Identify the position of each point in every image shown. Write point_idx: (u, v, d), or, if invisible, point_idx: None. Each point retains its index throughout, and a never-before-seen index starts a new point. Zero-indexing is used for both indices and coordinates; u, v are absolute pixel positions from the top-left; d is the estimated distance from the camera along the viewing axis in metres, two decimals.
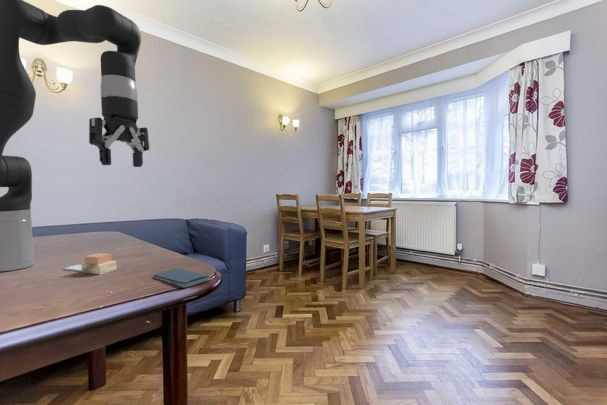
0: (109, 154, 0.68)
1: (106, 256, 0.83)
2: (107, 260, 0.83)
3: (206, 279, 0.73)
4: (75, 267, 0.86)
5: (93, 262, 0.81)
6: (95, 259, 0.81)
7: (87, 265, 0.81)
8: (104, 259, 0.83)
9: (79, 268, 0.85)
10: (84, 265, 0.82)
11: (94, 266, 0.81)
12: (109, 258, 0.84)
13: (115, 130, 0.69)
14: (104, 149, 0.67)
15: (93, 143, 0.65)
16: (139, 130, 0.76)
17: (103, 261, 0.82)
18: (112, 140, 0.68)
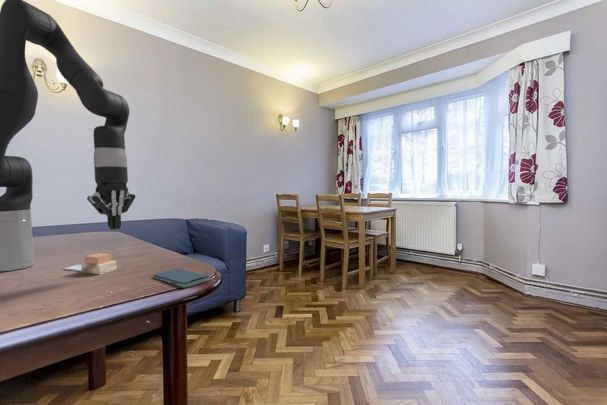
0: (116, 220, 0.80)
1: (106, 256, 0.83)
2: (107, 260, 0.83)
3: (206, 279, 0.74)
4: (75, 267, 0.86)
5: (93, 262, 0.81)
6: (95, 259, 0.81)
7: (87, 265, 0.81)
8: (104, 259, 0.83)
9: (79, 268, 0.85)
10: (84, 265, 0.82)
11: (94, 266, 0.81)
12: (109, 258, 0.84)
13: (110, 198, 0.78)
14: (111, 217, 0.79)
15: (104, 213, 0.78)
16: (128, 194, 0.84)
17: (103, 261, 0.82)
18: (114, 207, 0.79)
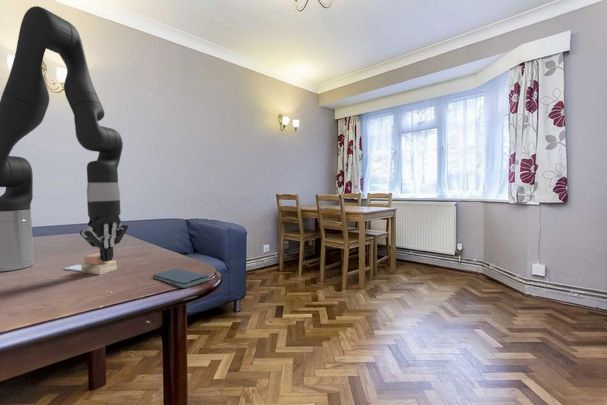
0: (108, 252, 0.82)
1: None
2: None
3: (206, 279, 0.74)
4: (75, 267, 0.86)
5: (93, 262, 0.81)
6: (95, 259, 0.81)
7: (87, 265, 0.81)
8: None
9: (79, 268, 0.85)
10: (84, 265, 0.82)
11: (94, 266, 0.81)
12: None
13: (103, 231, 0.80)
14: (104, 249, 0.81)
15: (96, 246, 0.80)
16: (120, 225, 0.86)
17: (103, 261, 0.82)
18: (106, 239, 0.81)
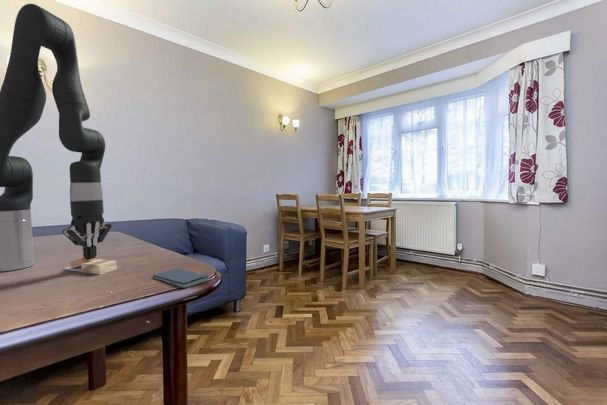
0: (91, 251, 0.84)
1: None
2: (91, 260, 0.86)
3: (206, 279, 0.74)
4: None
5: (78, 264, 0.83)
6: (79, 260, 0.83)
7: (87, 265, 0.81)
8: (89, 260, 0.85)
9: (79, 268, 0.85)
10: (84, 265, 0.82)
11: (94, 266, 0.81)
12: None
13: (85, 230, 0.82)
14: (87, 247, 0.83)
15: (79, 245, 0.82)
16: (104, 224, 0.88)
17: (87, 261, 0.84)
18: (89, 238, 0.83)
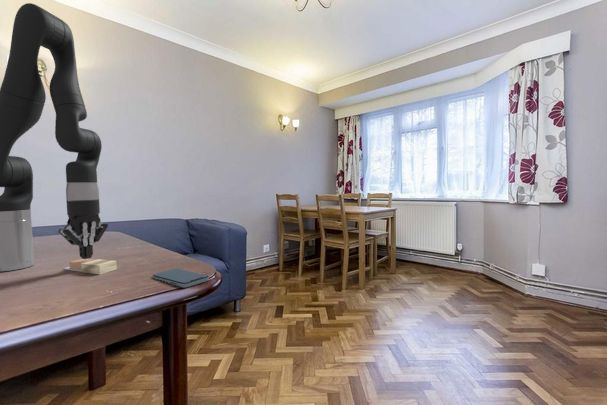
0: (87, 250, 0.84)
1: None
2: None
3: (206, 279, 0.74)
4: None
5: (77, 267, 0.84)
6: (79, 264, 0.83)
7: (87, 265, 0.81)
8: None
9: None
10: (84, 265, 0.82)
11: (94, 266, 0.81)
12: None
13: (82, 230, 0.82)
14: (83, 247, 0.83)
15: (75, 244, 0.82)
16: (100, 224, 0.88)
17: None
18: (85, 238, 0.83)
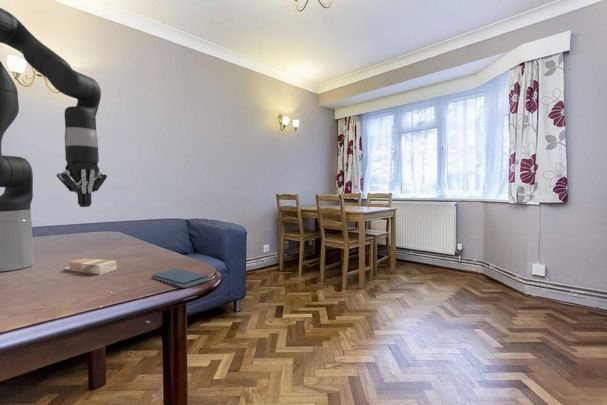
0: (86, 198, 0.83)
1: None
2: None
3: (206, 279, 0.74)
4: None
5: (77, 267, 0.84)
6: (79, 264, 0.83)
7: (87, 265, 0.81)
8: None
9: None
10: (84, 265, 0.82)
11: (94, 266, 0.81)
12: None
13: (80, 176, 0.81)
14: (81, 194, 0.82)
15: (73, 191, 0.81)
16: (99, 174, 0.87)
17: None
18: (84, 185, 0.82)
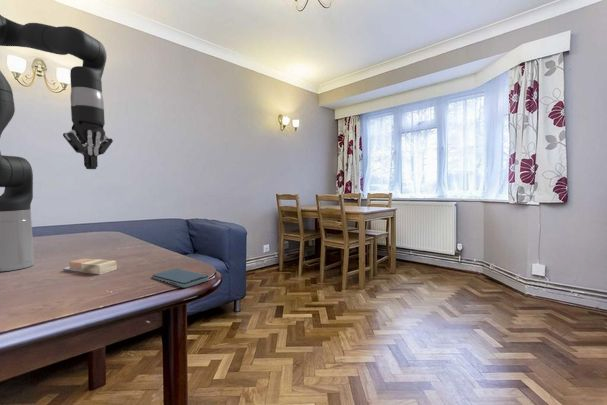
0: (92, 160, 0.83)
1: None
2: None
3: (206, 279, 0.74)
4: None
5: (77, 267, 0.84)
6: (79, 264, 0.83)
7: (87, 265, 0.81)
8: None
9: None
10: (84, 265, 0.82)
11: (94, 266, 0.81)
12: None
13: (86, 137, 0.81)
14: (88, 156, 0.82)
15: (80, 152, 0.81)
16: (105, 138, 0.87)
17: None
18: (90, 146, 0.82)
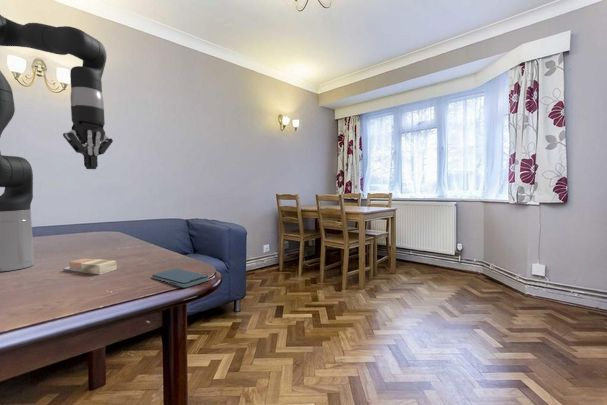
0: (92, 160, 0.83)
1: None
2: None
3: (206, 279, 0.74)
4: None
5: (77, 267, 0.84)
6: (79, 264, 0.83)
7: (87, 265, 0.81)
8: None
9: None
10: (84, 265, 0.82)
11: (94, 266, 0.81)
12: None
13: (86, 137, 0.81)
14: (88, 156, 0.82)
15: (80, 152, 0.81)
16: (105, 138, 0.87)
17: None
18: (90, 146, 0.82)
